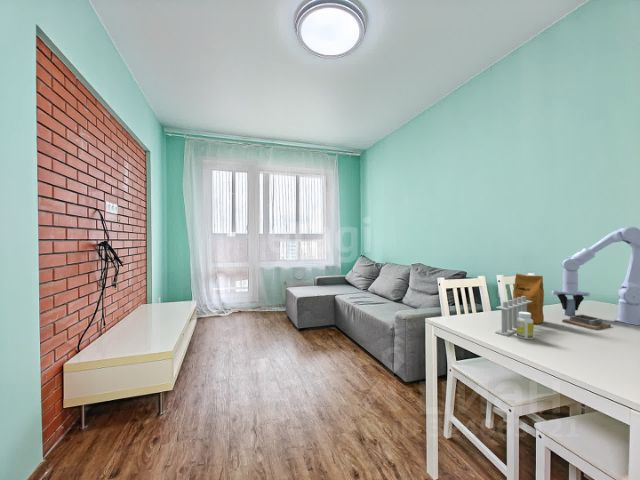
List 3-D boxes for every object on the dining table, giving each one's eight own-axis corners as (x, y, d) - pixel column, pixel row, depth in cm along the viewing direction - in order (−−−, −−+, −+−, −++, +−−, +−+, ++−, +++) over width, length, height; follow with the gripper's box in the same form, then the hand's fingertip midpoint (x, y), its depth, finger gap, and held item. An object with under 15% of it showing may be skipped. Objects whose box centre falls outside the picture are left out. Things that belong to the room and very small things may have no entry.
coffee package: (516, 315, 142) (517, 272, 141) (547, 321, 131) (547, 274, 131) (508, 318, 136) (508, 273, 136) (538, 325, 126) (539, 276, 125)
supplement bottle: (532, 336, 113) (532, 312, 113) (534, 340, 108) (534, 315, 108) (515, 333, 115) (516, 310, 115) (517, 338, 111) (517, 313, 111)
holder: (577, 318, 135) (577, 312, 135) (610, 326, 124) (610, 319, 124) (562, 321, 131) (562, 315, 130) (595, 330, 119) (595, 323, 119)
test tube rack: (506, 336, 113) (507, 304, 113) (495, 333, 117) (495, 301, 116) (532, 325, 127) (532, 296, 126) (521, 322, 130) (521, 294, 130)
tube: (567, 313, 144) (567, 298, 144) (577, 315, 140) (577, 300, 140) (562, 314, 142) (563, 299, 142) (572, 316, 138) (572, 300, 138)
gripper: (584, 282, 142) (584, 308, 142) (549, 280, 147) (549, 306, 147) (592, 284, 135) (591, 312, 136) (555, 282, 140) (555, 309, 141)
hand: (570, 309), depth 141 cm, fingers closed on tube, 4 cm apart
